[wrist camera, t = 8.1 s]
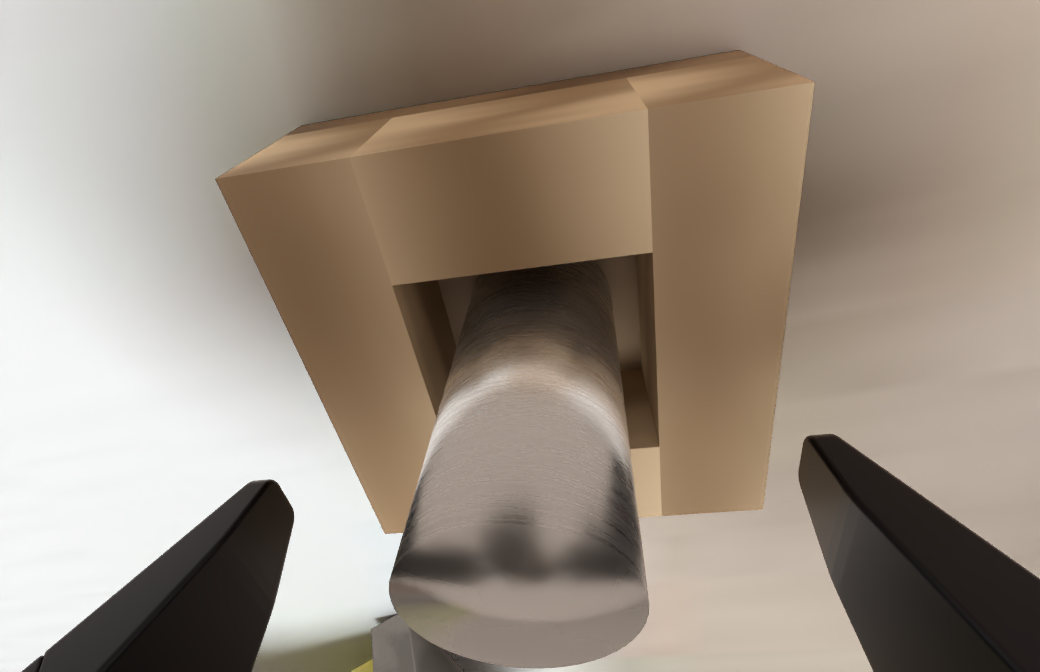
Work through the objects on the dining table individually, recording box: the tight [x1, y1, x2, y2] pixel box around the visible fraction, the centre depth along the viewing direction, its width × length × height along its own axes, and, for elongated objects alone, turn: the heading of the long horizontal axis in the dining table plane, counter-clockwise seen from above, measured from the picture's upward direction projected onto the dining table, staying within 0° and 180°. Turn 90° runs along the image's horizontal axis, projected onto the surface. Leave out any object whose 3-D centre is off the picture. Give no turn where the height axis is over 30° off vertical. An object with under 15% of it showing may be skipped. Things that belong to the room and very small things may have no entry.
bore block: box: [215, 50, 815, 534], centre depth 13 cm, size 10×10×4 cm
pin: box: [389, 260, 649, 668], centre depth 11 cm, size 4×4×8 cm
